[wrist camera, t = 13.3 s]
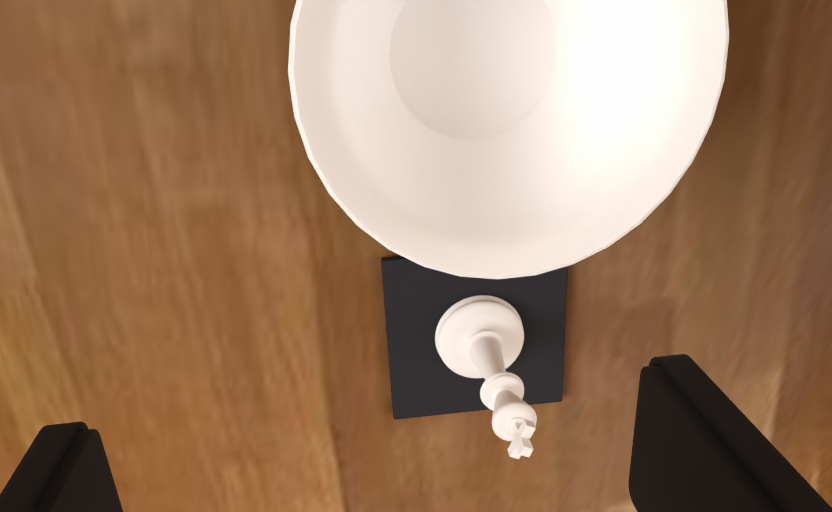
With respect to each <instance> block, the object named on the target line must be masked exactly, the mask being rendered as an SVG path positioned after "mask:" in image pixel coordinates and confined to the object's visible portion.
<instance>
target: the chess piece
mask: <svg viewBox="0 0 832 512" xmlns="http://www.w3.org/2000/svg"><path fill="white" fill-rule="evenodd" d="M523 342H524V330H523V326H522V321H521V319H520V316H519V314H518V313H517V311H516V310H515V309H514V308H513V306H511V305H510V304H509V303H508V302H506V301H504V300H502V299H500V298H497V297H494V296H488V295H478V296H472V297H468V298H465V299H463V300H461V301H459V302H457V303H456V304H454V305H453V306H451V307H450V308H449V309H448V310H447V311H446V312H445V313H444V315H443V316H442V317H441V319H440V321H439V323H438V325H437V328H436V333H435V344H436V348H437V351H438V353H439V355H440V357H441V358H442V360H443V362H444V363H445V364H446V366H447V367H448V368H449V369H451V370H452V371H453V372H455V373H457V374H459V375H461V376H464V377H468V378H484V379H485V382H484V383H483V385H482V387H481V390H480V397H481V400H482V402H483V403H484V405H485V406H487V407H488V408H489V409H491V410H493V411H494V412H493V416H492V427H493V430H494V432H495V434H496V435H497V436H498V437H500V438H501V439H504V440H507V441H512V442H511V444H510V446H509V448H508V453H509V456H510V457H513V458H517V459H519V458H520V456H521V455H522V456H526V457H530V455H531V453H532V451H533V447H532V444H531V442H530V438H531V436H532V434H533V433H534V431H535V429H536V427H535V426H536V422H537V417H536V413H535V411H534V410H533V408H532V407H531V406H530V405H529V404H527V403H526V402H525V401H523V400H522V398H523V395H524V385H523V382H522V380H521V379H520V378H519V377H518V376H517V375H515V374H513V373H509V372H506V368H508V367H509V366H510V365H511V364H512V363H513V362H514V361H515V360H516V358H517V357H518V355H519V354H520V352H521V349H522V346H523Z"/></svg>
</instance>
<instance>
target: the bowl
mask: <svg viewBox="0 0 832 512" xmlns="http://www.w3.org/2000/svg"><path fill="white" fill-rule="evenodd" d="M728 43H729V25H728V11H727V0H297V1H296V4H295V8H294V12H293V16H292V20H291V26H290V44H289V62H288V75H289V82H290V89H291V97H292V104H293V111H294V117H295V120H296V123H297V126H298V129H299V132H300V135H301V138H302V141H303V143H304V146H305V149H306V152H307V155H308V158H309V160H310V161H311V163H312V165H313V167H314V168H315V170H316V172H317V174H318V175H319V177H320V179H321V180H322V182H323V184H324V186H325V187H326V189H327V191H328V192H329V194H330V195H331V197H332V198H333V199H334V200H335V201H336V202H337V203H338V204H339V206H340V207H341V208H342V209H343V210H344V211H345V212H346V214H347V215H348V216H349V217H350V218H351V219H352V220H353V222H354V223H355V224H356V225H357V226H358V227H360V228H361V229H362V230H364V231H365V232H366V233H368V234H369V235H370V236H372V237H373V238H374V239H376V240H377V241H378V242H379V243H381V244H382V245H383V246H385V247H386V248H387V249H389V250H391V251H393V252H395V253H397V254H399V255H401V256H403V257H405V258H407V259H409V260H411V261H413V262H415V263H417V264H419V265H421V266H423V267H427V268H430V269H434V270H438V271H442V272H445V273H449V274H453V275H456V276H460V277H473V278H486V279H506V278H515V277H524V276H534V275H538V274H542V273H545V272H549V271H552V270H555V269H559V268H562V267H566V266H569V265H573V264H575V263H577V262H579V261H581V260H583V259H585V258H587V257H589V256H591V255H593V254H595V253H597V252H599V251H601V250H603V249H605V248H607V247H609V246H610V245H612V244H613V243H614V242H616V241H617V240H619V239H620V238H621V237H623V236H624V235H625V234H627V233H628V232H630V231H631V230H632V229H634V228H635V227H637V226H638V225H639V224H641V223H642V222H643V221H644V220H645V219H646V218H647V217H648V216H649V215H650V214H651V213H652V212H653V210H654V209H655V208H656V207H657V206H658V205H659V204H660V203H661V202H662V201H663V200H664V199H665V198H666V197H667V196H668V195H669V194H670V193H671V191H672V190H673V189H674V187H675V186H676V184H677V183H678V182H679V180H680V179H681V177H682V176H683V175H684V173H685V172H686V170H687V169H688V167H689V166H690V165H691V163H692V162H693V160H694V158H695V156H696V154H697V152H698V150H699V148H700V146H701V144H702V142H703V140H704V138H705V136H706V134H707V132H708V129H709V127H710V125H711V123H712V121H713V117H714V114H715V110H716V107H717V104H718V100H719V97H720V93H721V90H722V86H723V83H724V79H725V70H726V61H727V52H728Z"/></svg>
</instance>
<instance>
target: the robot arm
mask: <svg viewBox="0 0 832 512" xmlns="http://www.w3.org/2000/svg"><path fill="white" fill-rule="evenodd" d="M629 492H630V496H631V499H632V502H633V504H634V506H635V508H636V510H637V511H638V512H832V508H831V507H830V506H829V505H828V504H827V502H826V501H825V500H824V499H823V498H822V497H821V496H820V495H819V494H818V493H817V492H816V491H815V490H814V489H813V488H812V487H811V485H810V484H809V483H808V482H807V481H806V480H805V479H804V478H803V477H802V476H801V475H800V474H799V473H798V472H797V471H796V469H795V468H794V467H793V466H792V465H791V464H790V463H789V462H788V461H787V460H786V459H785V458H784V457H783V456H782V455H781V454H780V452H779V451H778V450H777V449H776V448H775V447H774V446H773V445H772V444H771V443H770V442H769V441H768V440H767V439H766V438H765V436H764V435H763V434H762V433H761V432H760V431H759V430H758V429H757V428H756V427H755V426H754V425H753V424H752V423H751V422H750V420H749V419H748V418H747V417H746V416H745V415H744V414H743V413H742V412H741V411H740V410H739V409H738V408H737V407H736V406H735V405H734V403H733V402H732V401H731V400H730V399H729V398H728V397H727V396H726V395H725V394H724V393H723V392H722V391H721V390H720V389H719V387H718V386H717V385H716V384H715V383H714V382H713V381H712V380H711V379H710V378H709V377H708V376H707V375H706V374H705V373H704V372H703V370H702V369H701V368H700V367H699V366H698V365H697V364H696V363H695V362H694V361H693V360H692V359H691V358H690V357H689V356H688V355H685V354H679V355H670V356H661V357H654V358H652V359H651V361H650V363H649V366H646V367H643V368H642V370H641V374H640V382H639V392H638V401H637V410H636V419H635V428H634V437H633V447H632V456H631V465H630V474H629ZM0 512H123V510H122V507H121V503H120V500H119V497H118V493H117V490H116V487H115V483H114V480H113V477H112V473H111V470H110V467H109V463H108V460H107V457H106V453H105V450H104V447H103V443H102V440H101V437H100V434H99V432H98V431H97V430H96V429H90V430H89V429H88V427H87V425H86V424H85V423H84V422H73V423H64V424H55V425H47V426H45V427H43V428H42V429H41V430H40V431H39V433H38V435H37V436H36V438H35V439H34V441H33V443H32V444H31V446H30V448H29V449H28V451H27V452H26V454H25V456H24V457H23V459H22V460H21V462H20V464H19V465H18V467H17V468H16V470H15V472H14V473H13V475H12V477H11V478H10V480H9V481H8V483H7V485H6V486H5V488H4V489H3V491H2V493H1V494H0Z"/></svg>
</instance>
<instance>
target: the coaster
mask: <svg viewBox="0 0 832 512" xmlns="http://www.w3.org/2000/svg"><path fill="white" fill-rule="evenodd" d="M381 264H382V277H383V290H384V303H385V315H386V328H387V341H388V354H389V367H390V379H391V392H392V405H393V417H394V419H404V418H413V417H422V416H431V415H440V414H450V413H459V412H468V411H477V410H486V409H489V408H488V407H487V406H485V405H484V403H483V402H482V400H481V397H480V390H481V387H482V385H483V383H484V382H485V379H484V378H468V377H464V376H461V375H459V374H457V373H455V372H453V371H452V370H451V369H449V368H448V367H447V366H446V364H445V363H444V362H443V360H442V358H441V357H440V355H439V353H438V351H437V348H436V344H435V333H436V328H437V325H438V323H439V321H440V319H441V317H442V316H443V315H444V313H445V312H446V311H447V310H448V309H449V308H450V307H451V306H453V305H454V304H456V303H457V302H459V301H461V300H463V299H465V298H468V297H472V296H478V295H488V296H494V297H497V298H500V299H502V300H504V301H506V302H508V303H509V304H510V305H511V306H513V308H514V309H515V310H516V311H517V313H518V314H519V316H520V319H521V321H522V326H523V330H524V342H523V346H522V349H521V352H520V354H519V355H518V357H517V358H516V360H515V361H514V362H513V363H512V364H511V365H510V366H509V367H508V368H506V372H509V373H513V374H515V375H517V376H518V377H519V378H520V379H521V380H522V382H523V385H524V395H523V398H522V400H523V401H525V402H526V403H527V404H529V405H532V404H541V403H550V402H559V401H562V392H563V367H564V342H565V317H566V293H567V268H568V266H566V267H562V268H559V269H555V270H552V271H549V272H545V273H542V274H538V275H534V276H524V277H515V278H506V279H486V278H473V277H460V276H456V275H453V274H449V273H445V272H442V271H438V270H434V269H430V268H427V267H423V266H421V265H419V264H417V263H415V262H413V261H411V260H409V259H407V258H405V257H403V256H398V257H386V258H381Z"/></svg>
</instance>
